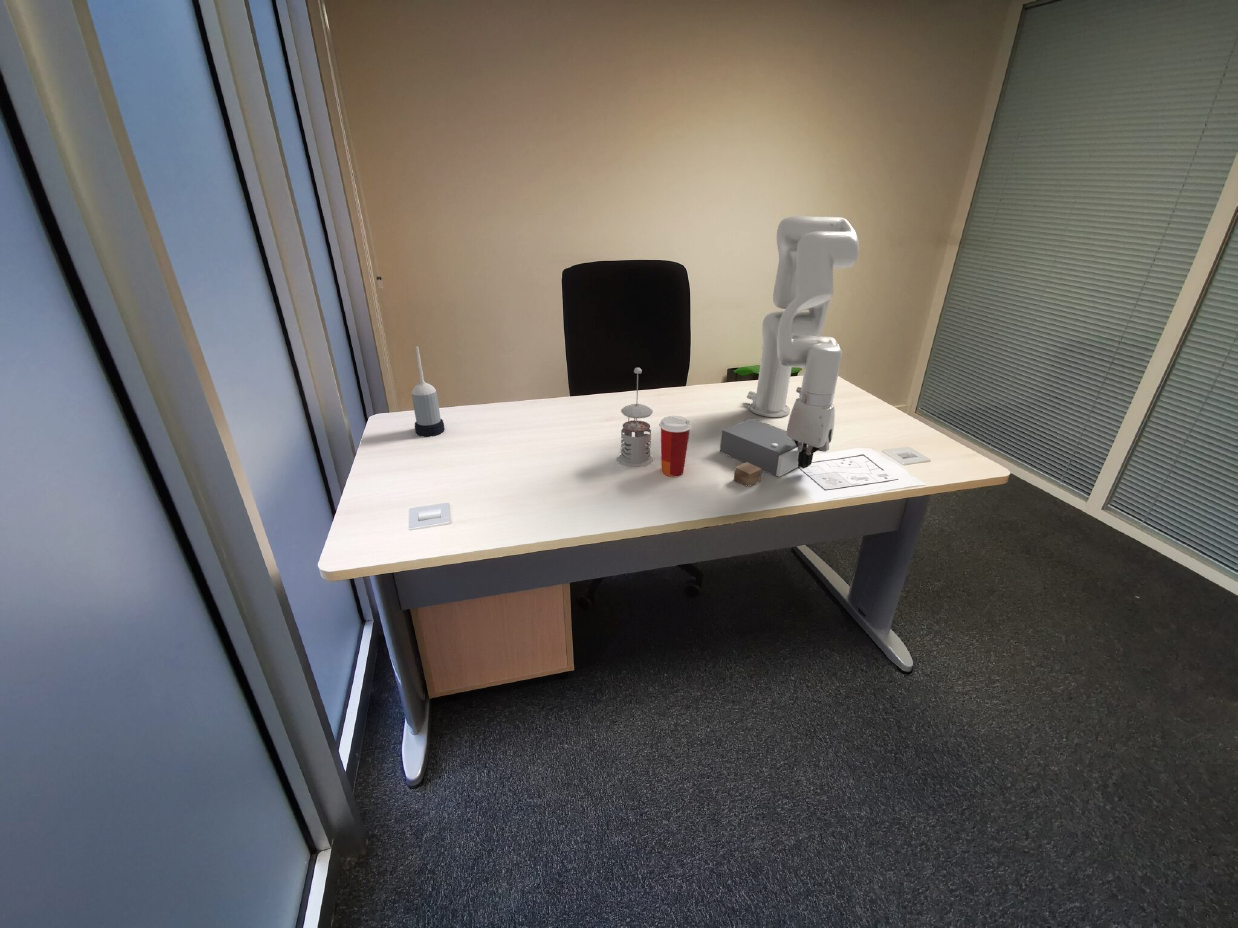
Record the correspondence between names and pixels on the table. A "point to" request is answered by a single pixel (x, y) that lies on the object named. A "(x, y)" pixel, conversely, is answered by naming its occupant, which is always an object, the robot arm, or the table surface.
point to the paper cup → (674, 444)
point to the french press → (636, 435)
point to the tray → (787, 462)
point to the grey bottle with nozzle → (426, 407)
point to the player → (756, 444)
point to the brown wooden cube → (747, 474)
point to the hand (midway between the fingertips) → (803, 466)
